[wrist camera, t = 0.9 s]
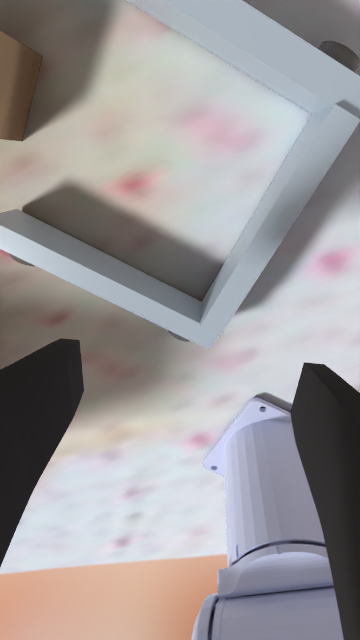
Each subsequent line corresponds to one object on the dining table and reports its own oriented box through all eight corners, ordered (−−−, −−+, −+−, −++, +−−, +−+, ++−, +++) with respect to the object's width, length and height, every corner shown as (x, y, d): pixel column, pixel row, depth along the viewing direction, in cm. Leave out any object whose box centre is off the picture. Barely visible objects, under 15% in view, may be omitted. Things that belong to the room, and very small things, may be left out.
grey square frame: (362, 79, 15) (400, 58, 12) (202, 335, 21) (200, 365, 18) (92, -96, 13) (56, -171, 10) (9, 241, 20) (-29, 256, 17)
